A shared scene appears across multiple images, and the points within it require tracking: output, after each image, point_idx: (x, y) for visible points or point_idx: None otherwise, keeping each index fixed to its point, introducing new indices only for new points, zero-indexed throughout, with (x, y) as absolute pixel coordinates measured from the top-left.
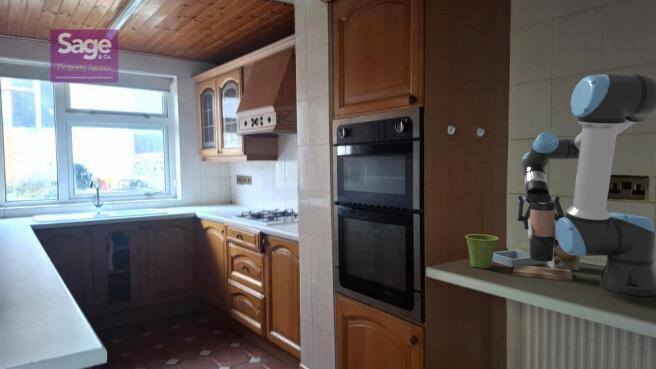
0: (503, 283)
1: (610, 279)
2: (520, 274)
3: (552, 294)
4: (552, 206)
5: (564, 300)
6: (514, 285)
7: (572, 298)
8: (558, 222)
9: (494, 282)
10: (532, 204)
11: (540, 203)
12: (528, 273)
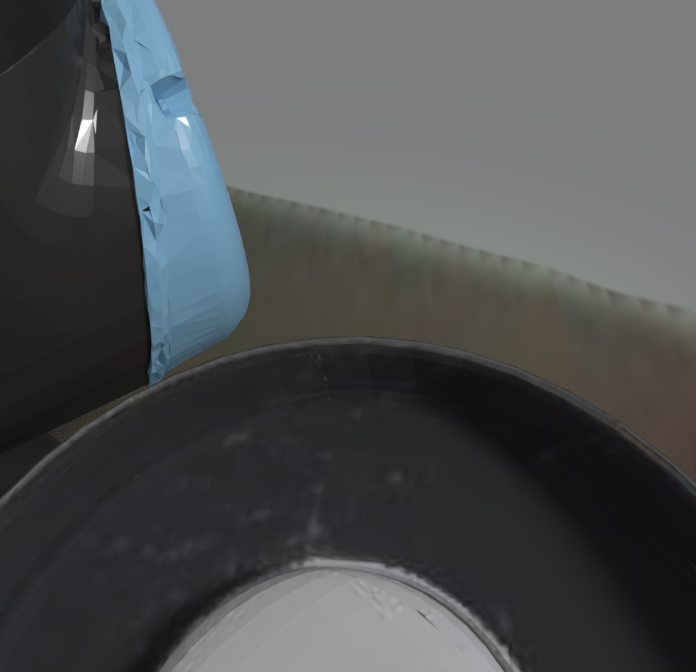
0: (621, 343)
1: (32, 440)
2: None
3: (354, 275)
4: (46, 539)
5: (308, 222)
6: (552, 334)
7: (273, 261)
8: (187, 85)
9: (676, 338)
10: (684, 507)
11: (381, 342)
12: None
